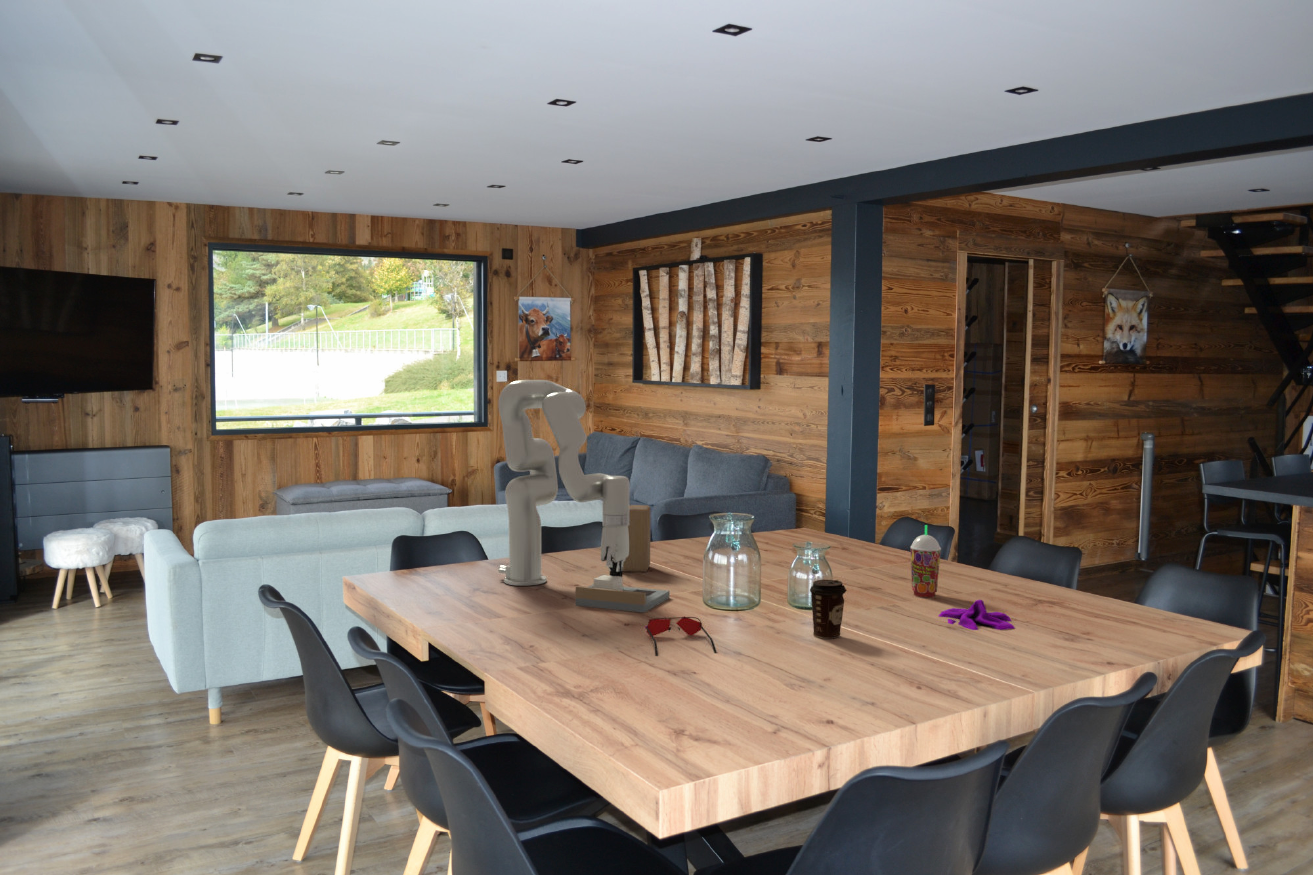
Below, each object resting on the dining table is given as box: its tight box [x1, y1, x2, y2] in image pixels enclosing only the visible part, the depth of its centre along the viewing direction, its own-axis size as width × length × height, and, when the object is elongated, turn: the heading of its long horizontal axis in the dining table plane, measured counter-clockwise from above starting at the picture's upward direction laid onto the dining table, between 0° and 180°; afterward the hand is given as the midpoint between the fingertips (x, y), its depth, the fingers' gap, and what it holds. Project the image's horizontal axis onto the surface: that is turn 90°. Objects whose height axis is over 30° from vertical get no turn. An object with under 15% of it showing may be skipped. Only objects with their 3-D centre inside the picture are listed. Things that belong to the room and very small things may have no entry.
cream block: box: [593, 574, 624, 591], centre depth 271 cm, size 6×6×4 cm
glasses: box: [645, 616, 718, 657], centre depth 227 cm, size 14×16×5 cm
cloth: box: [938, 599, 1016, 631], centre depth 249 cm, size 22×19×6 cm
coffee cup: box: [809, 579, 847, 640], centre depth 235 cm, size 9×8×13 cm
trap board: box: [575, 583, 670, 613], centre depth 269 cm, size 20×18×5 cm
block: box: [622, 504, 651, 573], centre depth 312 cm, size 10×10×20 cm
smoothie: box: [909, 524, 942, 598], centre depth 278 cm, size 8×8×20 cm
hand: (616, 584), depth 276 cm, fingers closed
